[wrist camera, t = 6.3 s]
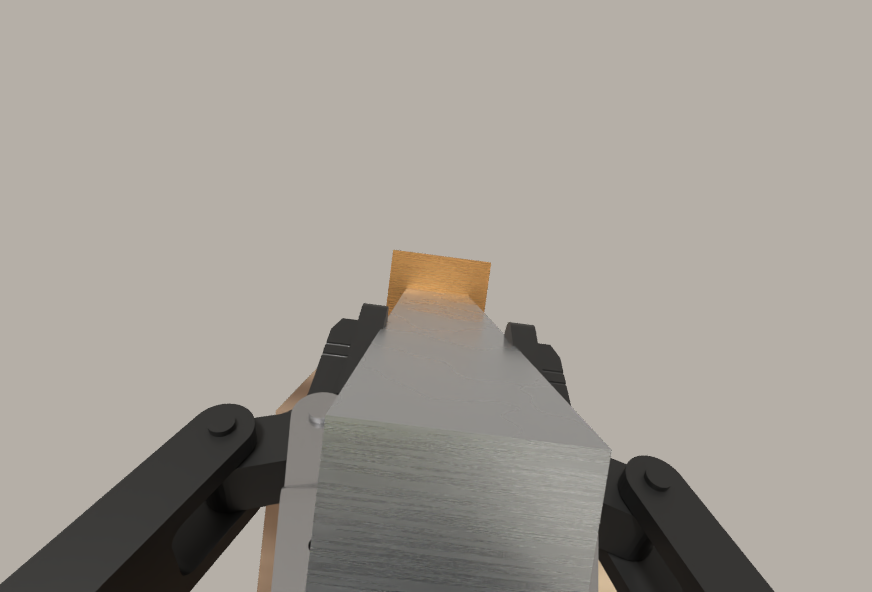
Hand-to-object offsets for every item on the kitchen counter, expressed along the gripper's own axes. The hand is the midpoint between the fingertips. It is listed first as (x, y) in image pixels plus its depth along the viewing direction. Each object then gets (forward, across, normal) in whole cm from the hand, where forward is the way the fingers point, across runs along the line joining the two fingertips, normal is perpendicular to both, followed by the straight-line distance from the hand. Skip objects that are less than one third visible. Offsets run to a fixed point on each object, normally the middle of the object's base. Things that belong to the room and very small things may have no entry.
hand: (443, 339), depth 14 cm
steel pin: (+2, 0, +5) cm, 6 cm away
